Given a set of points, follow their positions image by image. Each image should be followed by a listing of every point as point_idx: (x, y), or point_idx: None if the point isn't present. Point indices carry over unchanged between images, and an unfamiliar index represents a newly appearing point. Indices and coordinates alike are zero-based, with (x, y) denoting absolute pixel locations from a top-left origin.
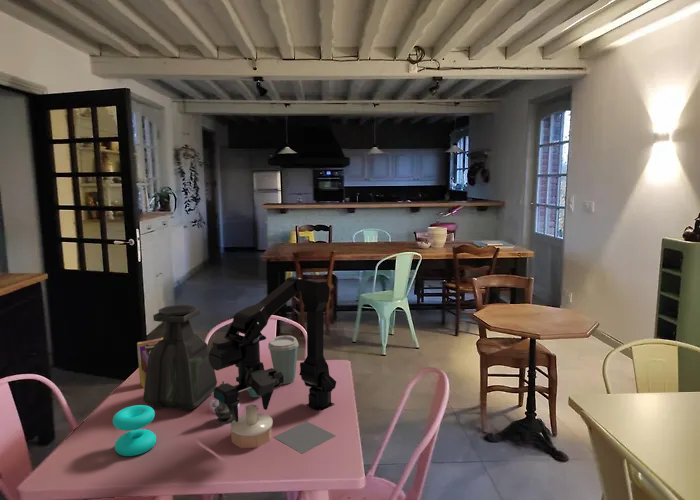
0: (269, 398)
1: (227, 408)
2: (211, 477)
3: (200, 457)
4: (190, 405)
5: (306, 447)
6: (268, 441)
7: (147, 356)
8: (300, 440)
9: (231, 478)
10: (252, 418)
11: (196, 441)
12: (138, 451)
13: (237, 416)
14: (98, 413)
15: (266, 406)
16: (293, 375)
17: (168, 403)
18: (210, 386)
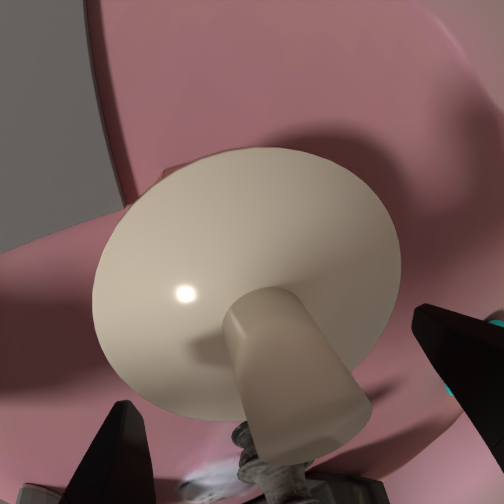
0: (78, 492)
1: (279, 466)
2: (467, 92)
3: (446, 237)
4: (327, 480)
5: (27, 4)
6: (171, 168)
7: None
8: (8, 87)
9: (430, 29)
10: (297, 322)
11: (401, 341)
12: (498, 322)
13: (459, 322)
14: (416, 455)
15: (119, 424)
16: (20, 497)
17: (348, 482)
18: None
